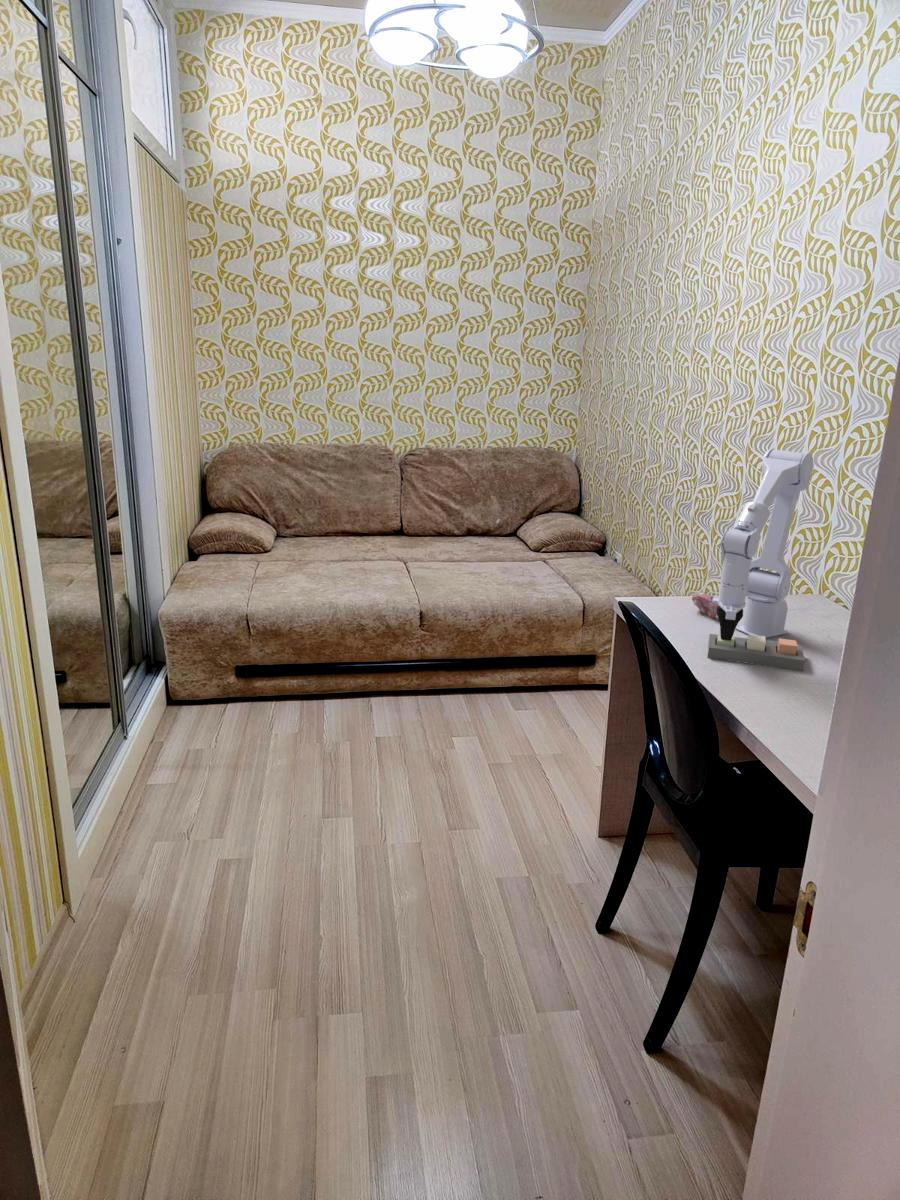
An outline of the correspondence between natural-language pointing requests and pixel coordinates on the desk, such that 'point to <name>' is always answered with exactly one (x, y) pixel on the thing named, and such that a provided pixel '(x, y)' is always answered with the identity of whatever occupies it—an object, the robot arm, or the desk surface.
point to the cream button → (756, 642)
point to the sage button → (725, 642)
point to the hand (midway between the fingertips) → (725, 639)
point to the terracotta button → (787, 646)
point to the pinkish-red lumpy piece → (705, 604)
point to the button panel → (756, 654)
